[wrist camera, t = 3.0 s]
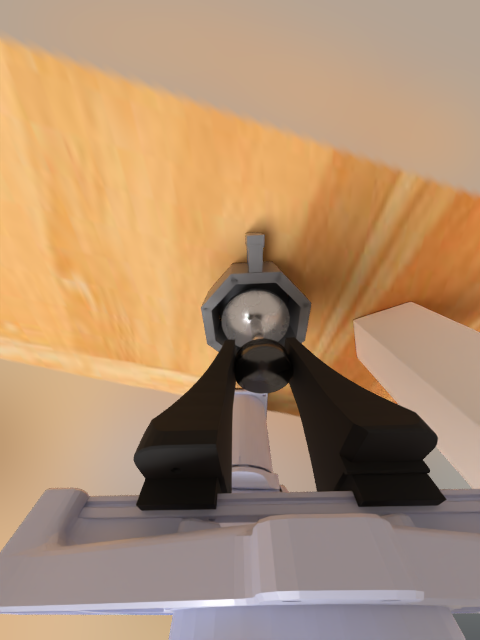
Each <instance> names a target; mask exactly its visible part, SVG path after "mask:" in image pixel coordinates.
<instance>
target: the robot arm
mask: <svg viewBox="0 0 480 640" xmlns="http://www.w3.org/2000/svg"><path fill="white" fill-rule="evenodd" d="M284 347H285V349H286V351H287V353H288V356H289V358H290V361H291V364H292V367H293V376H292V378H291V380H290V381H289V384H290V387H291V389H292V392H293V395H294V398H295V400H296V403H297V406H298V409H299V413H300V417H301V420H302V424H303V428H304V433H305V437H306V441H307V445H308V450H309V454H310V458H311V463H312V468H313V473H314V478H315V483H316V488H317V492H288V490H287V489H286V487H285V486H284V485H279V480H278V474H275V473H273V469H272V461H271V454H270V446H269V439H268V432H267V424H266V417H267V398H268V393H264V394H259V393H253V392H249V391H247V390H235V385H236V379H235V357H236V348H235V339H234V340H225V341H224V344H223V346H222V348H221V350H220V351H219V353H218V355H217V356H216V358H215V360H214V361H213V362H212V364H211V365H210V367H209V368H208V369H207V371H206V372H205V373H204V374H203V376H202V377H201V378H200V379H199V380H198V381H197V382H196V383H195V384H194V385H193V387H192V388H191V389H190V390H189V391H188V392H186V393H185V394H184V395H183V396H182V397H181V398H180V399H179V400H177V401H176V402H175V403H174V404H173V405H172V406H170V407H169V408H168V409H166V410H165V411H164V412H163V413H161V414H160V415H158V416H157V417H156V418H154V419H153V420H152V421H151V423H150V424H149V426H148V428H147V429H146V431H145V433H144V435H143V437H142V439H141V441H140V444H139V446H138V448H137V450H136V453H135V455H134V462H135V464H136V466H137V468H138V469H139V470H140V472H141V473H142V474H143V476H144V477H145V478H146V479H145V482H144V485H143V487H142V490H141V492H140V495H122V496H121V495H120V496H89V495H88V494H87V493H86V492H85V491H84V490H82V489H78V488H49V489H47V490H45V492H44V493H43V494H42V496H41V497H40V499H39V500H38V501H37V503H36V504H35V505H34V507H33V508H32V510H31V511H30V512H29V514H28V515H27V516H26V518H25V519H24V521H23V522H22V524H21V525H20V526H19V527H18V529H17V530H16V531H15V533H14V534H13V536H12V537H11V538H10V540H9V541H8V542H7V544H6V545H5V547H4V548H3V549H2V551H1V552H0V614H19V615H22V614H23V615H27V614H28V615H29V614H83V615H84V614H85V615H86V614H88V615H91V614H93V615H97V614H98V615H99V614H100V615H173V617H172V623H171V629H170V635H169V640H466V639H465V637H464V635H463V634H462V632H461V630H460V628H459V626H458V625H457V623H456V621H455V619H454V617H453V616H452V613H480V489H438V487H437V486H436V485H435V483H434V482H433V481H432V479H431V478H430V477H429V475H428V474H427V473H429V472H430V469H429V468H428V466H427V465H426V464H425V462H424V461H423V459H424V458H425V457H426V456H427V455H428V454H429V453H430V452H431V451H432V450H433V449H434V448H435V446H436V445H437V442H438V437H437V435H436V433H435V432H434V431H433V430H432V429H431V428H430V427H429V426H428V425H427V424H426V423H425V422H424V420H423V419H422V418H421V417H420V416H419V415H418V414H417V413H416V412H414V411H412V410H409V409H407V408H405V407H402V406H400V405H398V404H395V403H393V402H391V401H388V400H386V399H384V398H382V397H380V396H378V395H376V394H374V393H372V392H370V391H368V390H366V389H364V388H362V387H361V386H359V385H357V384H355V383H354V382H352V381H350V380H348V379H347V378H345V377H343V376H342V375H340V374H339V373H337V372H336V371H334V370H333V369H332V368H330V367H329V366H327V365H326V364H325V363H323V362H322V361H321V360H320V359H318V358H317V357H316V356H315V355H314V354H312V353H311V352H310V351H309V350H308V349H307V348H306V347H304V346H303V345H302V344H301V343H300V342H299V341H298V340H297V339H296V338H295V337H287V338H285V346H284Z"/></svg>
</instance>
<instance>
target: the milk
mask: <svg viewBox="0 0 480 640" xmlns="http://www.w3.org/2000/svg"><path fill="white" fill-rule="evenodd" d="M353 325H354V334H355V343H356V353H357V358H358V359H359V360H360V361H361V362H362V363H363V365H364V366H365V367H366V368H367V369H368V370H369V371H370V373H371V374H372V375H373V376H374V377H375V378H376V379H377V380H378V382H379V383H380V384H381V385H382V386H383V387H384V388H385V390H386V391H387V392H388V393H389V394H390V395H391V396H392V397H393V399H394V400H395V401H396V402H397V403H398V404H399V405H400V406H402V407H405V408H407V409H409V410H412V411H414V412H416V413H417V414H418V415H419V416H420V417H421V418H422V419H423V420H424V422H425V423H426V424H427V425H428V426H429V427H430V428H431V429H432V430H433V431H434V432H435V433H436V435H437V437H438V442H437V445H436V447H437V448H438V450H440V452H441V453H442V454H443V455H444V456H445V457H446V458H447V460H448V461H449V462H450V463H451V464H452V465H453V467H454V468H455V469H456V470H457V471H458V472H459V473H460V474H461V475H462V477H463V478H464V479H465V480H466V481H467V482H468V483H469V485H470V486H471V487H472V488H473V489H480V332H478V331H476V330H473V329H471V328H469V327H467V326H464V325H462V324H460V323H458V322H456V321H453V320H451V319H449V318H447V317H444V316H442V315H440V314H438V313H436V312H433V311H431V310H429V309H427V308H424V307H422V306H420V305H418V304H416V303H413V302H408V303H405V304H402V305H398V306H395V307H392V308H389V309H386V310H383V311H380V312H377V313H373V314H370V315H367V316H364V317H361V318H358V319H355V320H353Z"/></svg>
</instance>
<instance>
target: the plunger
mask: <svg viewBox="0 0 480 640" xmlns="http://www.w3.org/2000/svg"><path fill="white" fill-rule="evenodd" d="M289 322H290V316H289V311H288V309H287V307H286V305H285V303H284V302H283V300H282V299H281V298H280V297H279V296H278V295H277V294H275V293H273V292H271V291H269V290H265V289H259V288H254V289H248V290H244V291H242V292H240V293H238V294H236V295H235V296H233V297H232V298H231V299H230V300H229V301H228V303H227V304H226V306H225V308H224V311H223V315H222V328H223V331H224V333H225V335H226V337H227V338H228V339H229V340H234V339H235V345H237V346H239V347H240V349H239V350H238V351H237V353H236V357H235V379H236V381H237V383H238V384H239V385H240V386H241V387H242V388H243V389H245V390H247V391H249V392H253V393H259V394H264V393H271V392H275V391H277V390H280V389H281V388H283V387H284V386H286V385H287V384H288V383H289V381H290V380H291V378H292V376H293V367H292V364H291V361H290V358H289V356H288V353H287V351H286V349H285V347H284V346H283V345H282V344H280V343H279V342H278V341H279V340H281V339H282V337H283V336H284V335H285V333H286V332H287V330H288V327H289Z"/></svg>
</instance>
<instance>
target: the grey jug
mask: <svg viewBox="0 0 480 640" xmlns="http://www.w3.org/2000/svg"><path fill="white" fill-rule="evenodd" d="M264 236H265V235H264V234H262V233H245V240H246V246H247V263H233V264H232V265H231V266H230V267H229V268H228V269H227V271H226V272H225V273H224V274H223V275H222V276H221V277H220V279H219V280H218V281H217V282H216V283H215V284H214V286H213V287H212V288H211V289H210V290H209V292H208V294H207V296H206V298H205V300H204V302H203V304H202V307H201V310H202V316H203V322H204V328H205V334H206V339H207V344H208V345H209V346H211V347H212V348H214V349H215V350H217V351H218V352H219V351H220V350H221V348H222V346H223V344H224V341H225V340H229V339H228V338H227V337H226V335H225V333H224V331H223V328H222V321H221V320H220V318H221V319H222V315H223V311H224V308H225V306H226V304H227V303H228V301H229V300H230V299H231V298H232V297H233V296H235V295H236V294H238V293H240V292H242V291H244V290H248V289H254V288H259V289H265V290H269V291H271V292H273V293H275V294H277V295H278V296H279V297H280V298H281V299H282V300H283V302H284V303H285V305H286V307H287V309H288V311H289V316H290V322H289V327H288V330H287V332H286V333H285V335H284V336H283V337H282V339H281V340H279V341H278V342H279V343H280V344H282V345H283V346H285V338H287V337H295V338H296V339H297V340H298V341H299V342H300V343H302V342H304V341H305V337H306V331H307V325H308V320H309V314H310V308H311V302H310V301H309V300H308V299H307V298H306V297H305V295H304V294H303V293H302V292H301V291H300V290H299V289H298V288H297V287H296V286H295V285H294V284H293V283H292V282H291V281H290V280H289V278H288V277H287V276H286V275H285V274H284V273H283V272H282V271H281V270H280V269H279V268H278V267H277V266H276V265H275V264H274V263H273V262H263V248H264ZM287 294H288V296H287ZM219 315H220V316H219ZM235 348H236V353H237V351H238V350H239V349H240V347H239V346H237V345H235Z"/></svg>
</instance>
